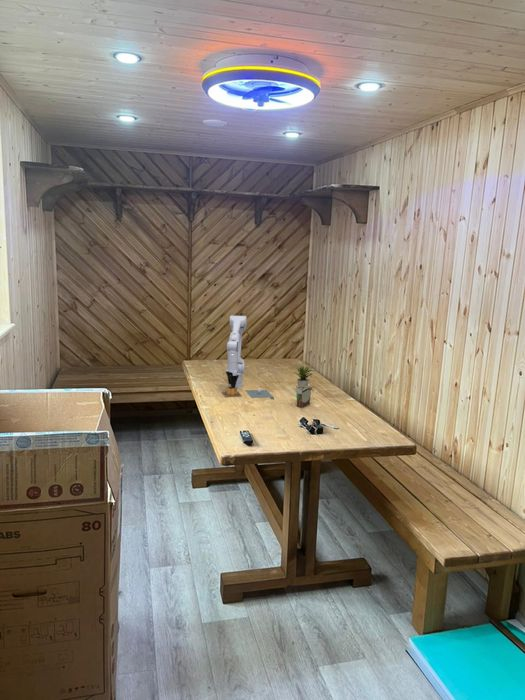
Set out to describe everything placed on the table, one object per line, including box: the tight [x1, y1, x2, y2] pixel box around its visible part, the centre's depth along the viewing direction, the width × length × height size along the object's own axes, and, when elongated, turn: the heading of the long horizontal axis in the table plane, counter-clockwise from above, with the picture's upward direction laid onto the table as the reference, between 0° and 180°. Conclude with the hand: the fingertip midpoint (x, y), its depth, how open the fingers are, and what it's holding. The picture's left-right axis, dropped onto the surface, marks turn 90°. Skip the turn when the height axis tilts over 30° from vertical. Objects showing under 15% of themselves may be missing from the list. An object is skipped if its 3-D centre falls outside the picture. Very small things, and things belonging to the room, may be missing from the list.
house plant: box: [294, 363, 316, 387], centre depth 330 cm, size 14×14×16 cm
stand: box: [221, 391, 243, 398], centre depth 310 cm, size 12×10×4 cm
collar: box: [226, 385, 238, 396], centre depth 309 cm, size 6×6×4 cm
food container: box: [294, 385, 312, 409], centre depth 295 cm, size 12×6×10 cm, turn 149°
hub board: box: [244, 387, 275, 400], centre depth 313 cm, size 18×13×4 cm
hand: (231, 385), depth 309 cm, fingers open, 7 cm apart
